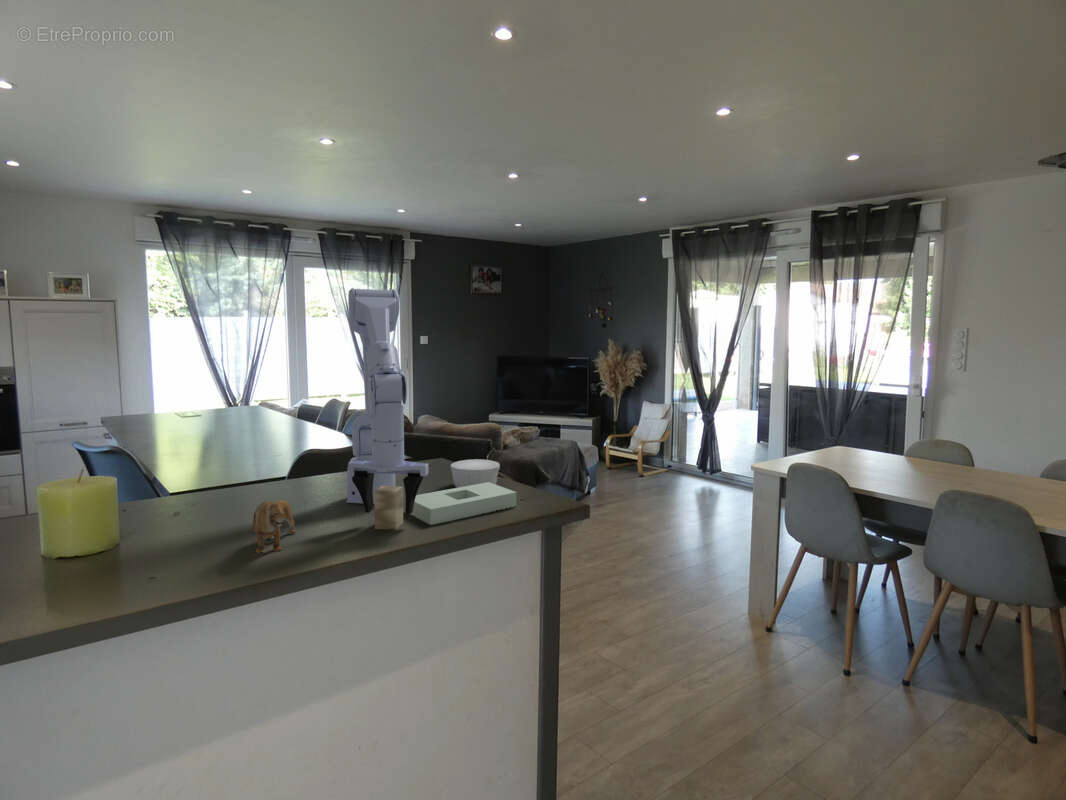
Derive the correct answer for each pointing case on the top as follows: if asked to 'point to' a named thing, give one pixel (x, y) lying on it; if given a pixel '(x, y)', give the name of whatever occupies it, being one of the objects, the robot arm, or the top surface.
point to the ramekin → (474, 472)
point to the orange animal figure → (272, 522)
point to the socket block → (462, 502)
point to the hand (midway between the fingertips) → (389, 512)
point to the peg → (388, 507)
